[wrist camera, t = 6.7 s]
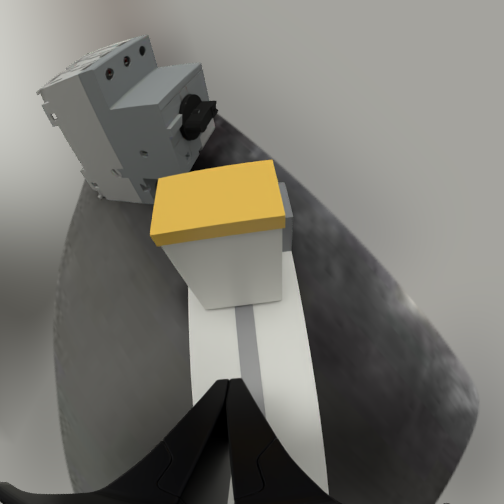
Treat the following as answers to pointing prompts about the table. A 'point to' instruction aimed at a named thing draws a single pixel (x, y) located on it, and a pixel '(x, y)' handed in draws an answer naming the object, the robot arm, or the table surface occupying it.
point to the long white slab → (265, 361)
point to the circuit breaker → (130, 118)
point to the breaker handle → (223, 232)
